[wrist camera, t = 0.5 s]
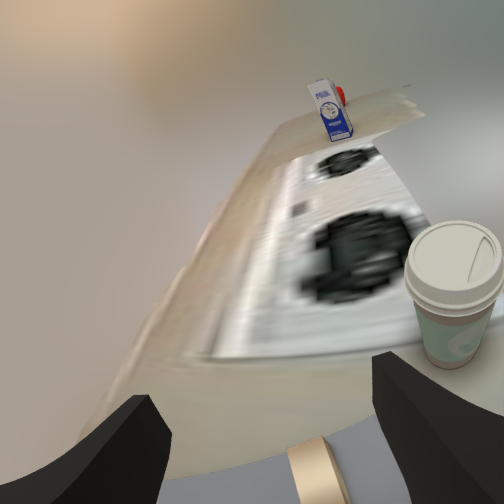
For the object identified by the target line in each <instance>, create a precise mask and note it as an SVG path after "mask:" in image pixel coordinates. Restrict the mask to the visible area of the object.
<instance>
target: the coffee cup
mask: <svg viewBox="0 0 504 504" xmlns="http://www.w3.org/2000/svg"><path fill="white" fill-rule="evenodd" d="M404 281H405V286H406V289H407V291H408V293H409V295H410V296H411V298H412V299H413V302H414V306H415V310H416V313H417V317H418V321H419V325H420V330H421V334H422V338H423V343H424V347H425V351H426V355H427V357H428V359H429V360H430V361H431V362H432V363H433V364H434V365H436V366H438V367H440V368H443V369H455V368H459V367H461V366H463V365H465V364H466V363H468V362H469V361H470V360H471V359H472V357H473V356H474V354H475V352H476V350H477V348H478V346H479V343H480V341H481V339H482V336H483V334H484V331H485V329H486V326H487V324H488V321H489V319H490V316H491V313H492V310H493V308H494V305H495V302H496V299H497V298H498V296H499V295H500V293H501V292H502V290H503V287H504V256H503V254H502V250H501V246H500V244H499V241H498V240H497V238H496V237H495V236H494V235H493V233H492V232H490V231H489V230H488V229H486V228H485V227H483V226H481V225H479V224H476V223H473V222H468V221H447V222H442V223H439V224H436V225H433V226H431V227H429V228H427V229H426V230H424V231H423V232H422V233H420V234H419V235H418V236H417V237H416V239H415V240H414V241H413V243H412V244H411V247H410V249H409V254H408V258H407V260H406V263H405V273H404Z"/></svg>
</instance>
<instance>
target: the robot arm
mask: <svg viewBox="0 0 504 504" xmlns="http://www.w3.org/2000/svg"><path fill="white" fill-rule="evenodd" d="M372 387H373V395H372V402H373V405H374V408H375V412H376V415H377V418H378V421H379V424H380V427H381V429H382V432H383V434H384V436H385V438H386V440H387V442H388V445H389V447H390V449H391V451H392V453H393V456H394V458H395V460H396V462H397V464H398V467H399V469H400V471H401V473H402V476H403V478H404V480H405V483H406V486H407V488H408V492H409V495H410V499H411V503H412V504H504V417H503V416H501V415H498V414H495V413H493V412H490V411H488V410H485V409H483V408H481V407H478V406H476V405H474V404H472V403H470V402H468V401H466V400H464V399H462V398H460V397H459V396H457V395H455V394H453V393H452V392H450V391H448V390H447V389H445V388H443V387H442V386H440V385H439V384H437V383H435V382H434V381H432V380H431V379H429V378H428V377H426V376H425V375H423V374H422V373H420V372H419V371H418V370H416V369H415V368H413V367H412V366H411V365H409V364H408V363H406V362H405V361H404V360H402V359H401V358H400V357H398V356H397V355H395V354H394V353H392V352H391V351H389V352H386V353H383V354H380V355H376V356H373V357H372ZM171 438H172V432H171V431H170V429H169V428H168V426H167V425H166V423H165V421H164V420H163V418H162V417H161V415H160V413H159V412H158V410H157V408H156V407H155V405H154V403H153V402H152V400H151V398H150V397H149V395H133V396H132V397H131V398H129V399H128V400H127V401H126V402H125V403H123V404H122V405H121V406H120V407H119V408H118V409H117V410H116V411H115V412H113V413H112V414H111V415H110V416H109V417H108V418H107V419H106V420H105V421H104V422H102V423H101V424H100V425H99V426H98V427H97V428H96V429H95V430H94V431H92V432H91V433H90V434H89V435H88V436H87V437H85V438H84V439H83V440H82V441H80V442H79V443H78V444H77V445H75V446H74V447H73V448H72V449H71V450H69V451H68V452H66V453H65V454H64V455H63V456H61V457H59V458H58V459H56V460H55V461H53V462H52V463H50V464H48V465H47V466H45V467H43V468H41V469H39V470H37V471H35V472H33V473H31V474H29V475H27V476H25V477H23V478H20V479H17V480H15V481H12V482H9V483H6V484H3V485H0V504H156V503H157V499H158V496H159V492H160V488H161V485H162V481H163V478H164V474H165V471H166V467H167V464H168V460H169V454H170V447H171Z"/></svg>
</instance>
